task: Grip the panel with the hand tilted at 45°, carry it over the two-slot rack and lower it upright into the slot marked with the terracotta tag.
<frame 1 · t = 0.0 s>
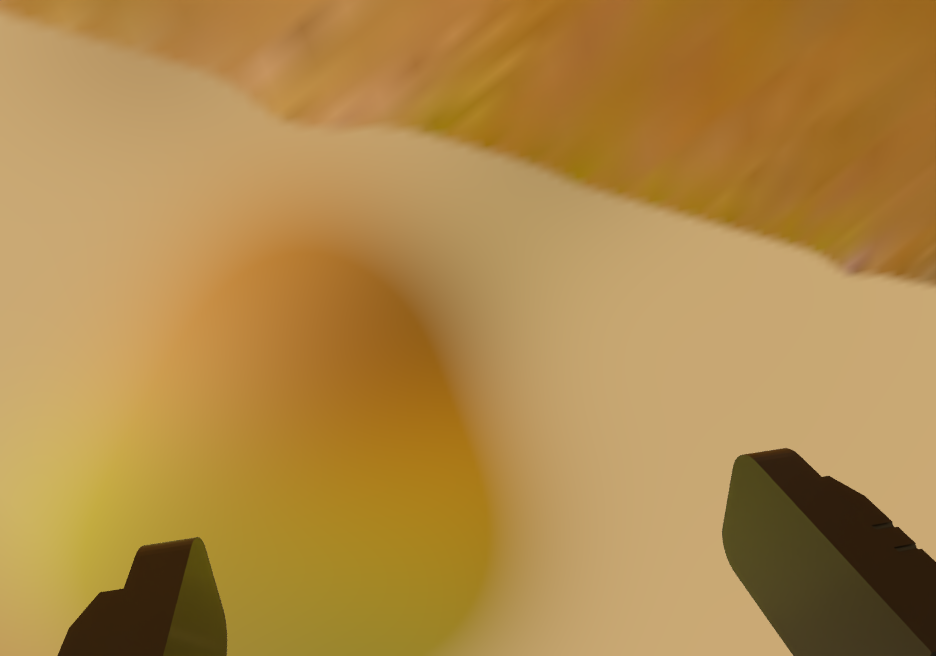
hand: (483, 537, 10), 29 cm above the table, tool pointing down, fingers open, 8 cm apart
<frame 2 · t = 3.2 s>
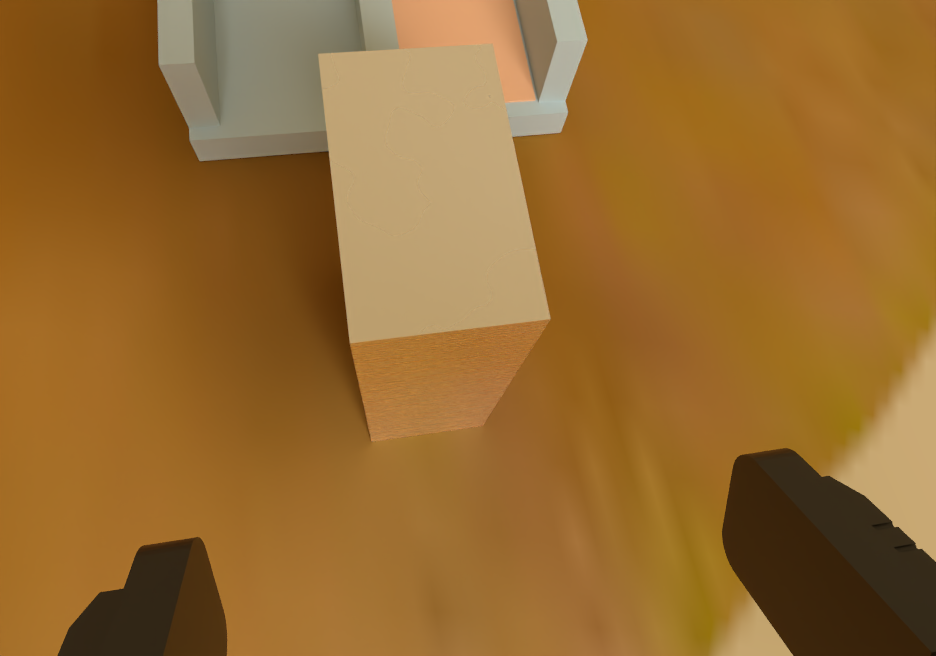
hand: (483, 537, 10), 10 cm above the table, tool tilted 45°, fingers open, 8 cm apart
slot rack: (369, 24, 26), on the table
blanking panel: (414, 343, 22), on the table
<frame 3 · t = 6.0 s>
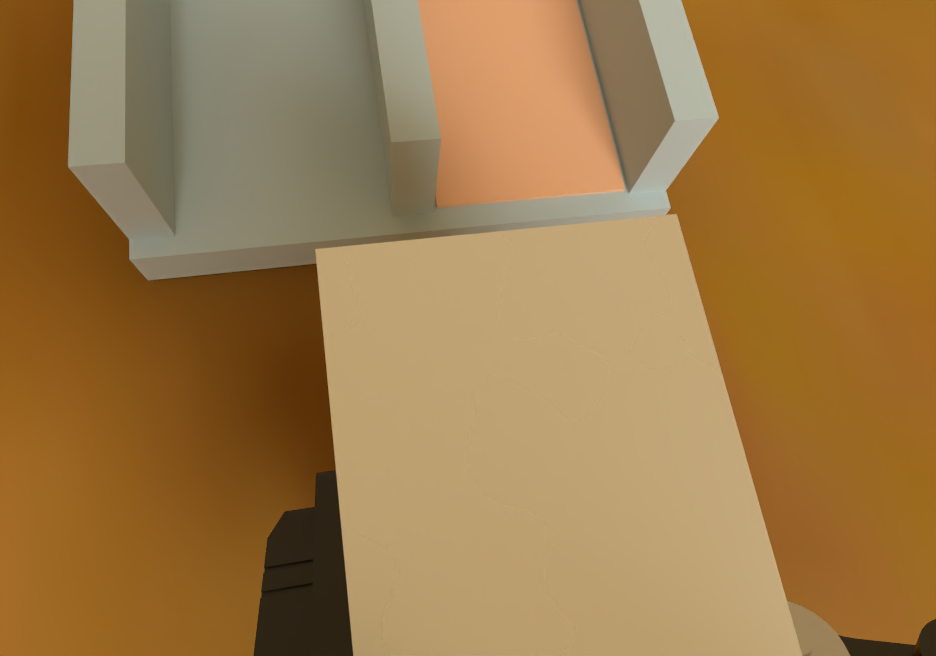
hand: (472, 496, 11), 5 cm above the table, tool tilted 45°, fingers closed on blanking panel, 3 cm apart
slot rack: (389, 77, 19), on the table
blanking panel: (459, 560, 15), on the table, touching gripper
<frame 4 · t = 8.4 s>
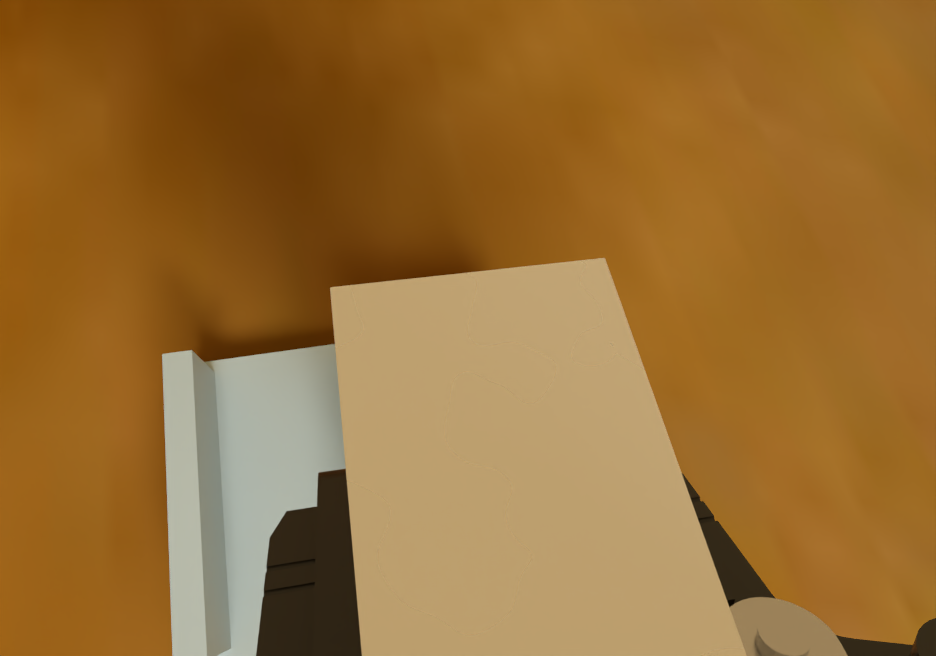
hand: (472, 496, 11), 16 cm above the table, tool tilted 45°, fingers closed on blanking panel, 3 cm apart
slot rack: (372, 480, 27), on the table
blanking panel: (465, 637, 15), point 11 cm above the table, tilted 13°, touching gripper
when the fingers open (9 cm above the table, at t = 11.1 s): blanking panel stays where it is, resting on slot rack.
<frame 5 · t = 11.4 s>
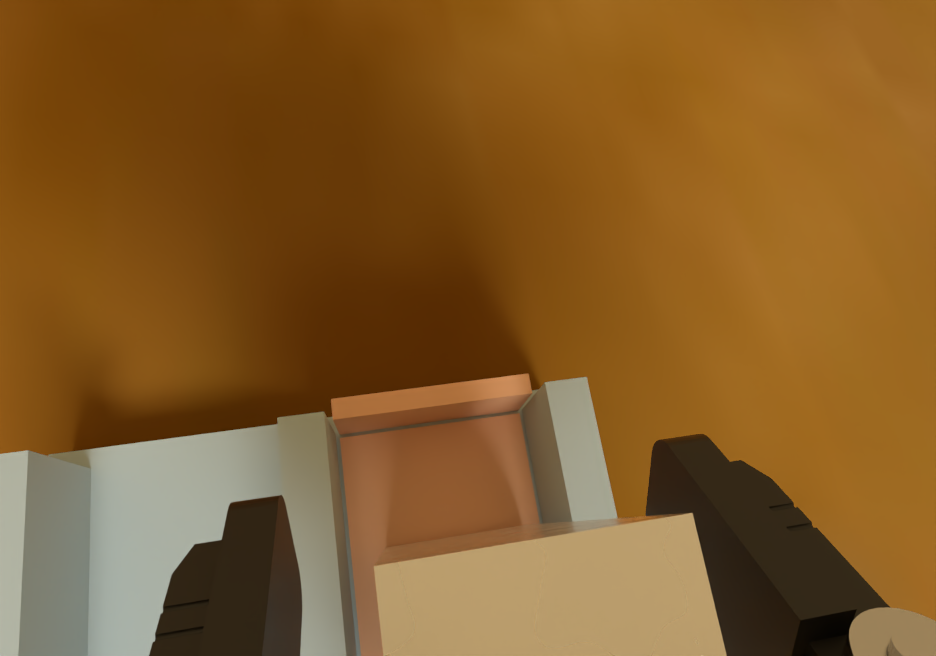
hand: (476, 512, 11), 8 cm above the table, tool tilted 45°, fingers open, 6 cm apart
slot rack: (338, 641, 17), on the table
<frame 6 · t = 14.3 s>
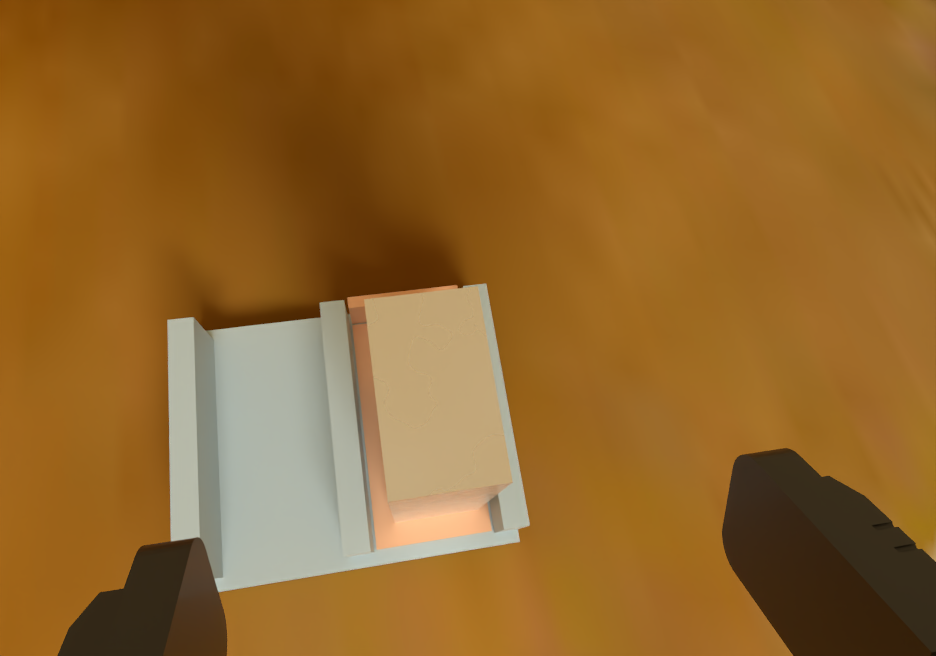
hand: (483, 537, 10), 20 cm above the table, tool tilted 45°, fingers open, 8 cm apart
slot rack: (352, 438, 30), on the table
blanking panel: (426, 444, 29), point 1 cm above the table, touching slot rack
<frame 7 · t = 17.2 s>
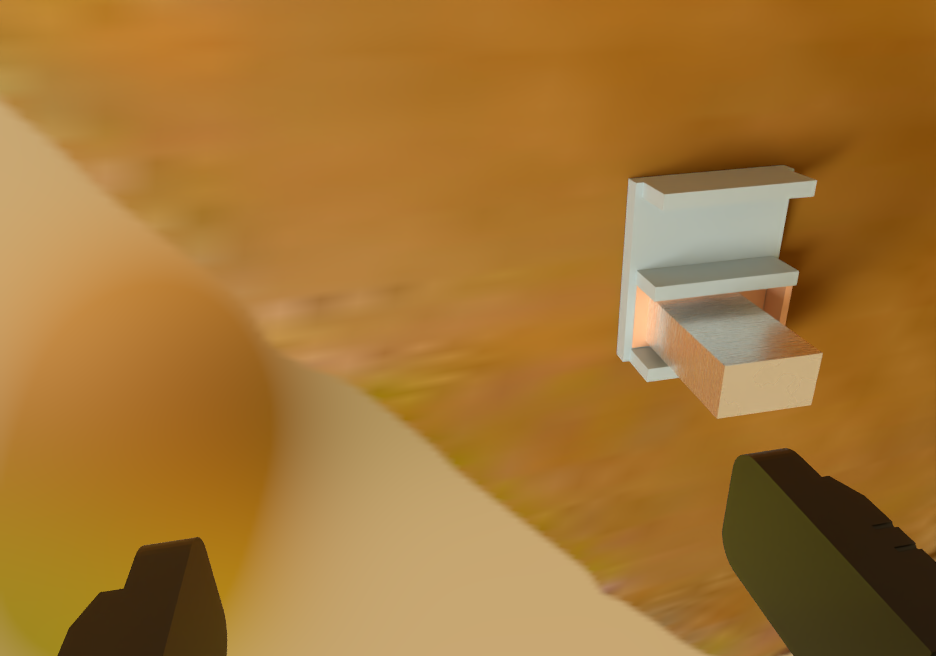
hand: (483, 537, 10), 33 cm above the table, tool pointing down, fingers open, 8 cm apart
slot rack: (696, 263, 47), on the table
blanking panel: (687, 313, 47), point 1 cm above the table, touching slot rack
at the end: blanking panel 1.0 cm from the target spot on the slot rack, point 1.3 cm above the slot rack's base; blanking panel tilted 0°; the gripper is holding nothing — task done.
